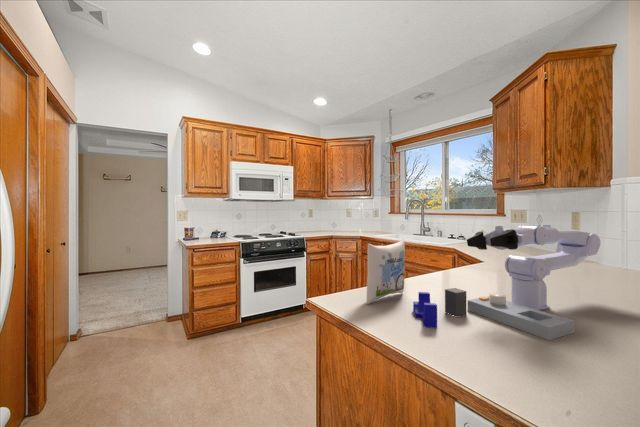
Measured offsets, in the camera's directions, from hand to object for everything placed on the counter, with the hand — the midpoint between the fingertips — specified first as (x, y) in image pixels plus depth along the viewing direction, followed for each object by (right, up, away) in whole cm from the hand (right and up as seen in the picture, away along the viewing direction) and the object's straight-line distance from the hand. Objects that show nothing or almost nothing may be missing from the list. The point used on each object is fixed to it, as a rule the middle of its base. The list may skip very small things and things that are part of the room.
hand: (479, 242), depth 82 cm
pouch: (-23, -21, +16) cm, 35 cm away
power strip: (+8, -21, -3) cm, 23 cm away
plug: (-6, -21, +2) cm, 22 cm away
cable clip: (-16, -22, -2) cm, 27 cm away
